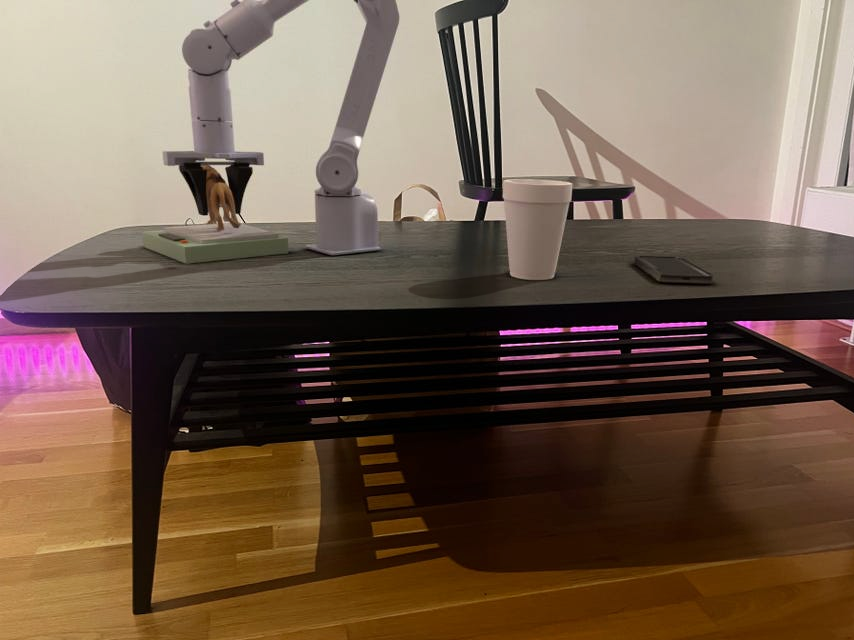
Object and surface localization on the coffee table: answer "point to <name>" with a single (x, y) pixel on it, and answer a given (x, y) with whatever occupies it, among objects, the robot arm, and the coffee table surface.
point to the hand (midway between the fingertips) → (219, 214)
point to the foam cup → (535, 225)
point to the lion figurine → (219, 199)
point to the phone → (673, 270)
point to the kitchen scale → (214, 242)
